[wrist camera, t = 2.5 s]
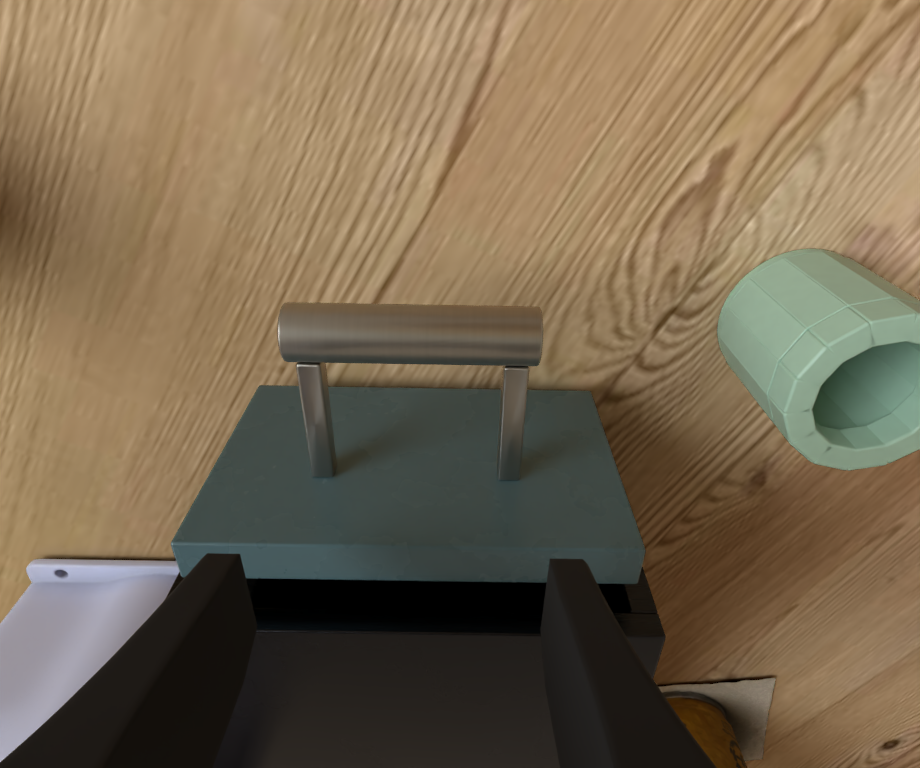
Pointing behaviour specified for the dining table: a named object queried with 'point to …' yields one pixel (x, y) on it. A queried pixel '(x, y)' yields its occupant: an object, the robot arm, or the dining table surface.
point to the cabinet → (407, 686)
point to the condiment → (725, 718)
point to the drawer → (413, 472)
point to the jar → (828, 356)
